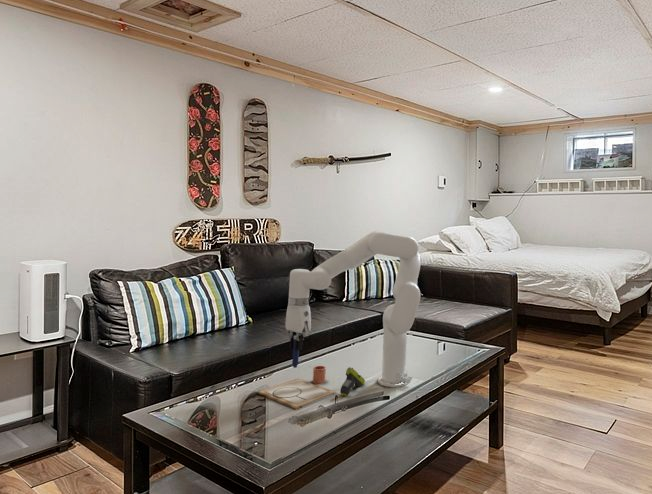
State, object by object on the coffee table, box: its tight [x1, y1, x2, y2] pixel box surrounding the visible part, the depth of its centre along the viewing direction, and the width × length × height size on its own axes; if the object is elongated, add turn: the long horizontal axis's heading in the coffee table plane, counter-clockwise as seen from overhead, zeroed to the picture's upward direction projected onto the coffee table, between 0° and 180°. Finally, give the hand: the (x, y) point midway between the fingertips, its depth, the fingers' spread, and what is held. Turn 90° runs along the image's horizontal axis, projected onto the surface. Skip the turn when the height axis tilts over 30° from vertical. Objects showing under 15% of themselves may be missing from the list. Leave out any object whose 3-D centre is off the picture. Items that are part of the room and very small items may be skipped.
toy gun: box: [339, 366, 366, 398], centre depth 189 cm, size 2×14×10 cm
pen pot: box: [312, 365, 327, 384], centre depth 197 cm, size 5×5×6 cm
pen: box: [291, 335, 300, 369], centre depth 188 cm, size 2×2×12 cm
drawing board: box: [258, 378, 336, 410], centre depth 185 cm, size 22×18×1 cm
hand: (296, 349), depth 188 cm, fingers closed on pen, 2 cm apart
